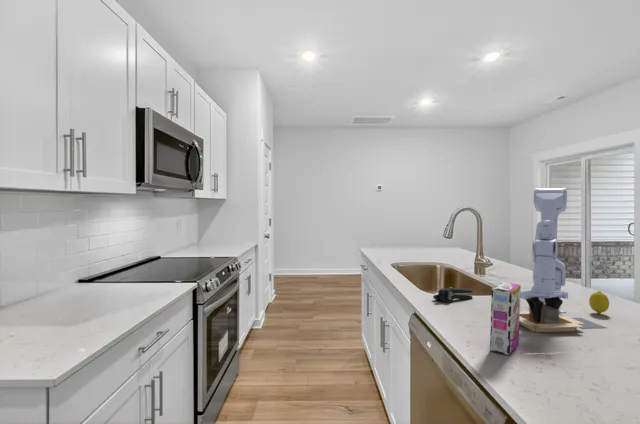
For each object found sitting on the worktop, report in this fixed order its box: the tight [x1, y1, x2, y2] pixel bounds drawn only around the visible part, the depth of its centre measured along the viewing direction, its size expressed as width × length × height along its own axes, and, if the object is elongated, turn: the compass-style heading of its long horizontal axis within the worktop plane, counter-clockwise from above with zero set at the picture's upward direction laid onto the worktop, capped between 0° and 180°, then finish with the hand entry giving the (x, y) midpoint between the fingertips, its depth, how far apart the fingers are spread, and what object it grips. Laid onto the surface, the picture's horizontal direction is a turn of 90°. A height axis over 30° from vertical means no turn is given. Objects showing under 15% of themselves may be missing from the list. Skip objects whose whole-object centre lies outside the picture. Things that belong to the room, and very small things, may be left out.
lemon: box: [588, 290, 610, 315], centre depth 129 cm, size 6×6×8 cm
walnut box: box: [528, 304, 559, 324], centre depth 115 cm, size 8×4×6 cm, turn 5°
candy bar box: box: [489, 282, 521, 356], centre depth 98 cm, size 11×5×16 cm, turn 141°
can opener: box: [433, 286, 474, 303], centre depth 147 cm, size 18×7×6 cm, turn 112°
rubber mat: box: [571, 317, 607, 329], centre depth 118 cm, size 10×8×1 cm
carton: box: [519, 310, 584, 333], centre depth 115 cm, size 16×18×2 cm
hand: (543, 321), depth 115 cm, fingers closed on walnut box, 4 cm apart
